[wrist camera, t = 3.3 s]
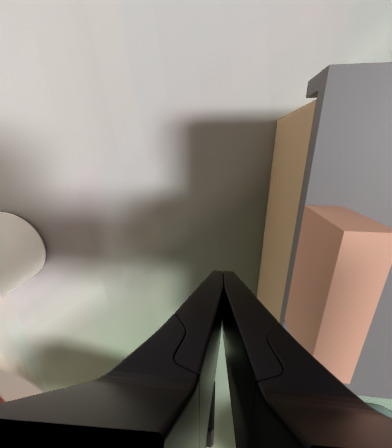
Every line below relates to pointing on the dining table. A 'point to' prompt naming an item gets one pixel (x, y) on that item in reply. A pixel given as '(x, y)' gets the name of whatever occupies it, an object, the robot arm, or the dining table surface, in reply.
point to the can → (18, 251)
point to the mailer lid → (346, 230)
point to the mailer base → (284, 204)
